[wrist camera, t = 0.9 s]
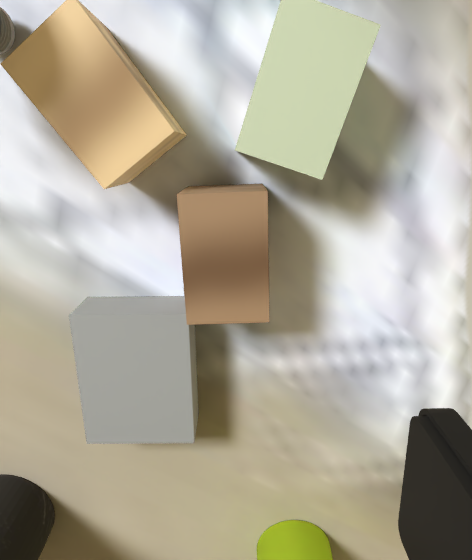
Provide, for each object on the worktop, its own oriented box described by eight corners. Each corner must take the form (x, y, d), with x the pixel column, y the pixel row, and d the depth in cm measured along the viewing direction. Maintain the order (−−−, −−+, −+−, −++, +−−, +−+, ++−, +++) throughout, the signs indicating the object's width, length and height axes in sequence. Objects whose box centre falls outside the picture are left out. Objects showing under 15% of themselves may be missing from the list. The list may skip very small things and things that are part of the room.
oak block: (48, 81, 24) (0, 63, 19) (107, 27, 23) (72, -6, 18) (129, 182, 25) (104, 189, 20) (187, 135, 24) (174, 130, 20)
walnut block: (188, 186, 25) (176, 194, 20) (262, 183, 25) (267, 190, 20) (196, 294, 27) (186, 324, 23) (264, 292, 27) (269, 322, 22)
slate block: (89, 295, 28) (68, 315, 24) (194, 294, 28) (188, 314, 24) (103, 411, 30) (86, 443, 27) (199, 410, 30) (194, 443, 27)
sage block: (275, 23, 23) (284, -12, 18) (351, 51, 23) (380, 25, 18) (235, 150, 25) (234, 150, 20) (306, 174, 25) (322, 180, 20)
